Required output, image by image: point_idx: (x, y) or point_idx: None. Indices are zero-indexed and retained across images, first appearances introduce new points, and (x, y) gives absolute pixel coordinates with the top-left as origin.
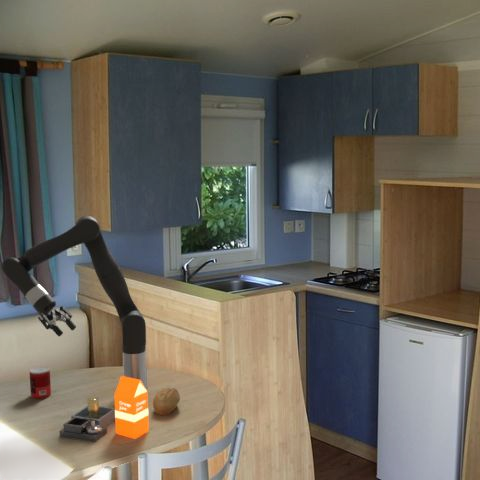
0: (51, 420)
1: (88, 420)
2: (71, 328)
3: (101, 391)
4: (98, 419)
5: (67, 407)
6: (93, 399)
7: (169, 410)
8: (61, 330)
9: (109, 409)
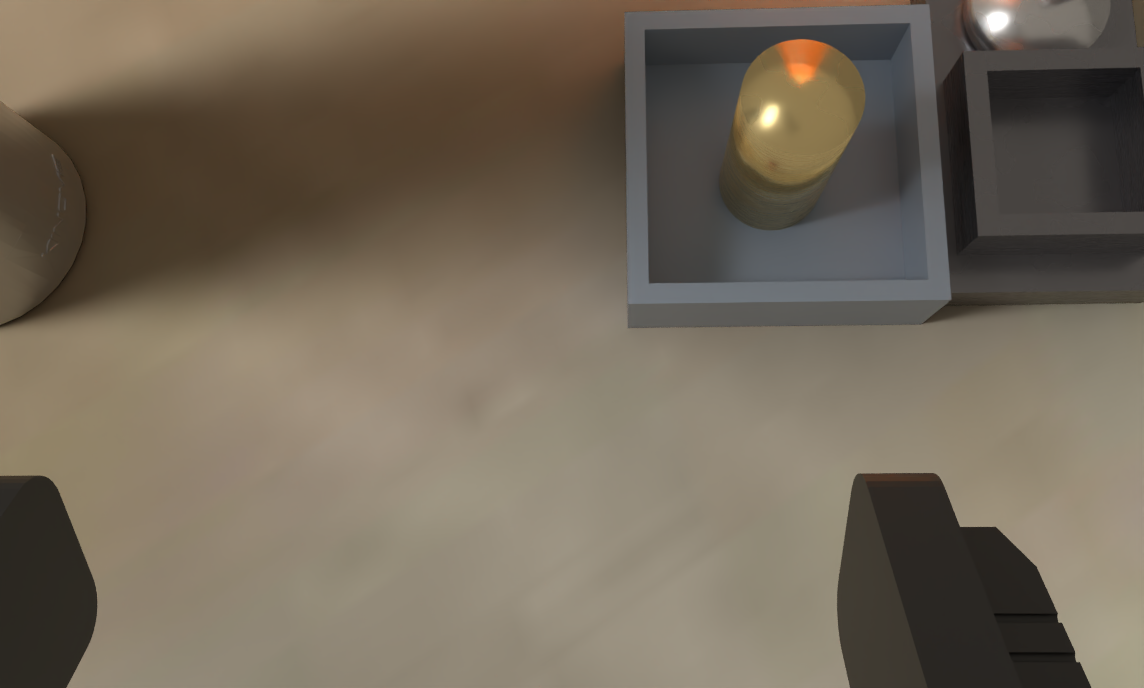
0: None
1: (1003, 65)
2: (59, 640)
3: None
4: (913, 20)
5: (529, 641)
6: (812, 83)
7: None
8: (884, 536)
9: (644, 70)
